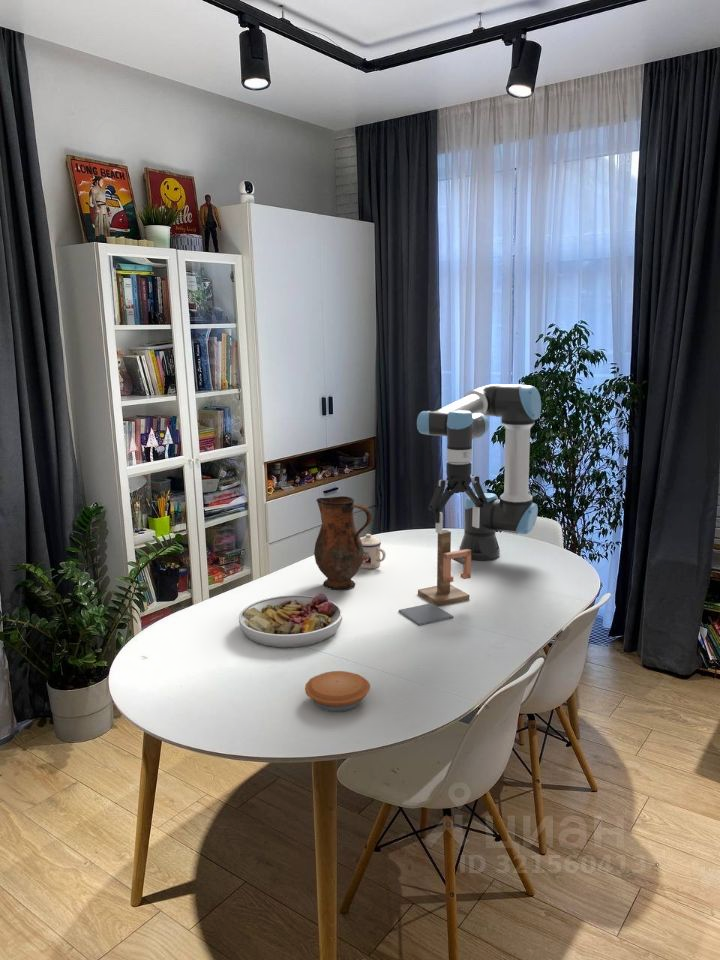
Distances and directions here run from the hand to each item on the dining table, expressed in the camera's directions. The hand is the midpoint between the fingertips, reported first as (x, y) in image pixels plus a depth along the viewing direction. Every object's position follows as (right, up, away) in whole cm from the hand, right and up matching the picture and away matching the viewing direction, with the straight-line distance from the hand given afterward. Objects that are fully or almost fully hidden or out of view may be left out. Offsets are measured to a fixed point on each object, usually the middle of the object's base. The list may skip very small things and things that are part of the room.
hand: (457, 530), depth 234 cm
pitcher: (-35, -21, +22) cm, 47 cm away
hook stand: (-2, -23, +10) cm, 25 cm away
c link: (0, -16, +4) cm, 16 cm away
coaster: (-10, -26, -2) cm, 28 cm away
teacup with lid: (-26, -16, +43) cm, 52 cm away
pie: (-35, -37, -52) cm, 73 cm away
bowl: (-50, -29, -11) cm, 59 cm away
